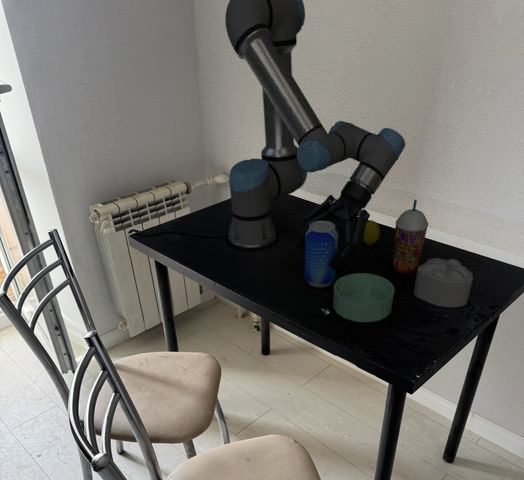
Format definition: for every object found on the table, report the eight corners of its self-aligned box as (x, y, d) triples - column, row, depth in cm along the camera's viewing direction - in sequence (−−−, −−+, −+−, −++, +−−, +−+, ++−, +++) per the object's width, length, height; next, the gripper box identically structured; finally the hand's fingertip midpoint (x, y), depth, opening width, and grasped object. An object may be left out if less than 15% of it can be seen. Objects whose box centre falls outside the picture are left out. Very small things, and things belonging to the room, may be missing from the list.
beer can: (338, 275, 139) (341, 221, 129) (331, 290, 133) (334, 234, 123) (309, 271, 141) (310, 217, 132) (301, 286, 135) (301, 231, 125)
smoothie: (387, 274, 139) (396, 204, 126) (391, 260, 145) (401, 192, 133) (418, 278, 136) (430, 207, 124) (421, 264, 143) (434, 195, 130)
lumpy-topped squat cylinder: (429, 279, 136) (435, 250, 130) (475, 296, 129) (483, 266, 123) (408, 294, 130) (413, 265, 125) (455, 313, 123) (463, 282, 117)
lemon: (377, 241, 155) (380, 216, 150) (379, 249, 150) (382, 224, 146) (359, 240, 155) (361, 216, 150) (360, 249, 151) (362, 224, 146)
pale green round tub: (335, 323, 121) (336, 304, 118) (331, 291, 133) (332, 273, 129) (396, 323, 120) (399, 303, 117) (386, 291, 132) (389, 272, 128)
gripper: (403, 210, 124) (353, 282, 126) (334, 182, 140) (292, 247, 142) (391, 194, 118) (339, 270, 121) (321, 167, 134) (277, 235, 137)
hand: (313, 258), depth 132 cm, fingers open, 13 cm apart
